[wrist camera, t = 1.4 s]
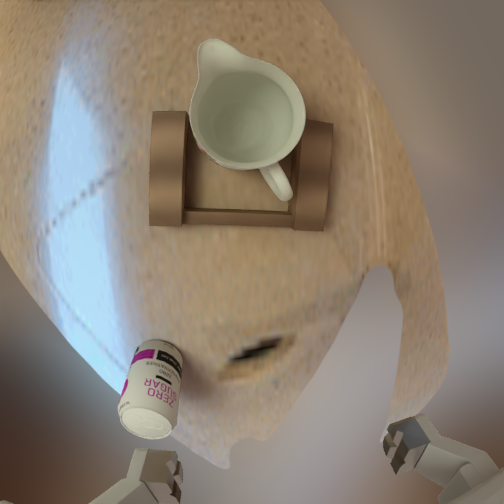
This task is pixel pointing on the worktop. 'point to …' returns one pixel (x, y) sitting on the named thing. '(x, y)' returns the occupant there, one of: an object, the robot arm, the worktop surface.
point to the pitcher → (246, 113)
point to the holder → (298, 216)
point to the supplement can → (152, 391)
